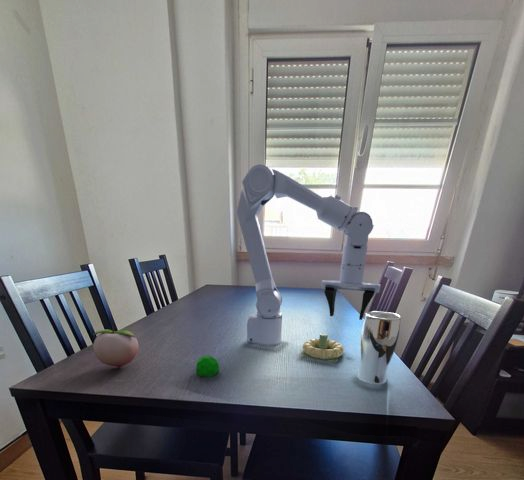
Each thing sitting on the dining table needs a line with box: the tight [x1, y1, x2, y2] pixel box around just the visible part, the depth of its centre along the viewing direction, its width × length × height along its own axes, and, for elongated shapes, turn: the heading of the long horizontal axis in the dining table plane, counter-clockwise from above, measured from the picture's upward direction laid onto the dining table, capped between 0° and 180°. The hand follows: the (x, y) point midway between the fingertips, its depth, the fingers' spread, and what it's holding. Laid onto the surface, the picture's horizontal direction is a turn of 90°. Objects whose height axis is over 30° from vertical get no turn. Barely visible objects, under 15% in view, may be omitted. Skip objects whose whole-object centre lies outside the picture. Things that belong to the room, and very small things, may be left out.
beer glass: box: [357, 310, 402, 386], centre depth 58 cm, size 7×7×15 cm
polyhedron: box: [195, 355, 220, 378], centre depth 61 cm, size 5×5×5 cm
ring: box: [301, 338, 345, 360], centre depth 73 cm, size 10×10×2 cm
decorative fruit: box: [92, 325, 140, 368], centre depth 63 cm, size 9×8×10 cm
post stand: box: [300, 333, 339, 363], centre depth 73 cm, size 9×9×6 cm
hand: (346, 317), depth 76 cm, fingers open, 7 cm apart
